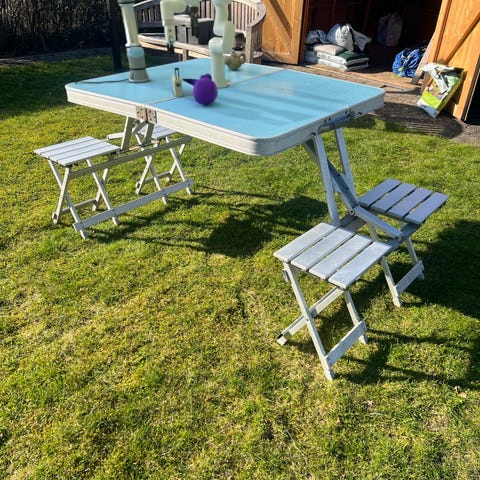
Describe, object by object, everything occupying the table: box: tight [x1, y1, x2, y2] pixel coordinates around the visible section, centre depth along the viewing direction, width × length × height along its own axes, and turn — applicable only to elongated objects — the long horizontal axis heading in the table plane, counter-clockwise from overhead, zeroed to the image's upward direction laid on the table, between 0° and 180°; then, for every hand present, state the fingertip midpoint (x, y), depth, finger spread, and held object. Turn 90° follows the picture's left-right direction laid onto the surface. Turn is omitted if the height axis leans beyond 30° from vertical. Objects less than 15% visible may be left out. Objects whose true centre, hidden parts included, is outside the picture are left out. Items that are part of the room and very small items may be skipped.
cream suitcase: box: [171, 77, 184, 98], centre depth 298 cm, size 17×5×9 cm, turn 12°
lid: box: [171, 66, 183, 83], centre depth 293 cm, size 18×5×8 cm, turn 12°
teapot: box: [224, 50, 247, 71], centre depth 368 cm, size 21×12×15 cm, turn 120°
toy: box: [181, 73, 219, 106], centre depth 272 cm, size 16×18×27 cm
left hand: (195, 37), depth 348 cm, fingers open, 13 cm apart
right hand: (171, 53), depth 281 cm, fingers open, 9 cm apart
